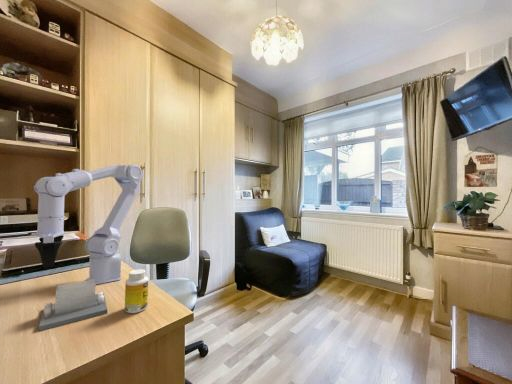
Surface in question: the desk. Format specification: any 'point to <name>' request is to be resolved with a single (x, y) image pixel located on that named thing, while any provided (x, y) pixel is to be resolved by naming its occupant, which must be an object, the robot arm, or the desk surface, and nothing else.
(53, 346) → the desk surface
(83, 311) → the pin tray
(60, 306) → the block
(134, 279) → the supplement bottle
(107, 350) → the desk surface
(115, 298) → the desk surface
